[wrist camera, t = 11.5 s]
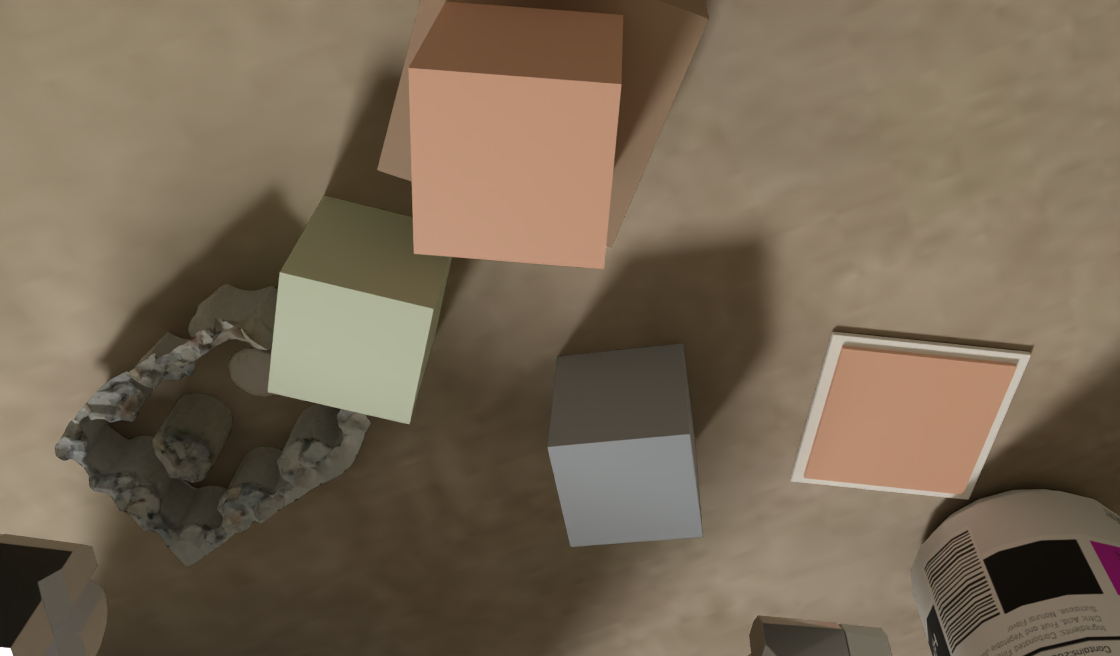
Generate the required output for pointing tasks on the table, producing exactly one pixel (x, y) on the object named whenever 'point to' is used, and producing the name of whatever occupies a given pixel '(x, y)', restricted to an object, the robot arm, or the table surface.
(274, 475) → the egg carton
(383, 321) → the sage cube
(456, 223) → the terracotta cube
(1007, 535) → the supplement can
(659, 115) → the walnut base block
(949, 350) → the terracotta swatch
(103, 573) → the table surface
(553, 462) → the slate grey cube
